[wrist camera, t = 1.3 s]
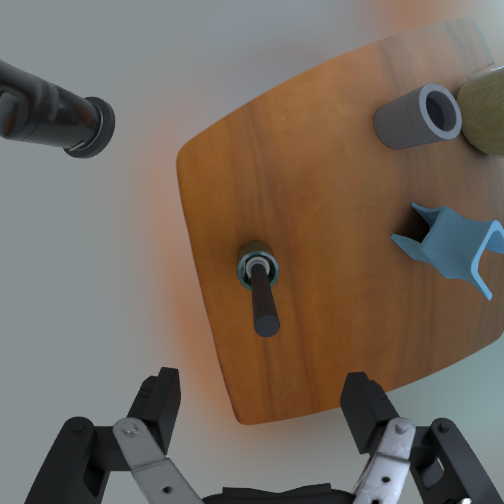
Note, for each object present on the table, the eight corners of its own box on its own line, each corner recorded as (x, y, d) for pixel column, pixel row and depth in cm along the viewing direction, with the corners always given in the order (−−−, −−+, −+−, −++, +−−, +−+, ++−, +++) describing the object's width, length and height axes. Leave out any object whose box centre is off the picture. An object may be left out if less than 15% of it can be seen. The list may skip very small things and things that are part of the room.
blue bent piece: (415, 262, 45) (489, 301, 25) (389, 237, 44) (467, 269, 24) (437, 228, 44) (515, 252, 24) (413, 201, 42) (495, 214, 23)
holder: (234, 268, 44) (232, 285, 36) (243, 235, 43) (243, 246, 35) (267, 277, 45) (271, 296, 37) (277, 245, 44) (284, 257, 36)
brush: (243, 264, 44) (241, 338, 22) (248, 245, 43) (253, 303, 21) (262, 270, 44) (279, 347, 22) (269, 250, 43) (293, 313, 21)
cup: (369, 138, 40) (415, 121, 26) (378, 98, 38) (422, 72, 25) (406, 156, 41) (458, 149, 27) (414, 118, 39) (463, 101, 26)
